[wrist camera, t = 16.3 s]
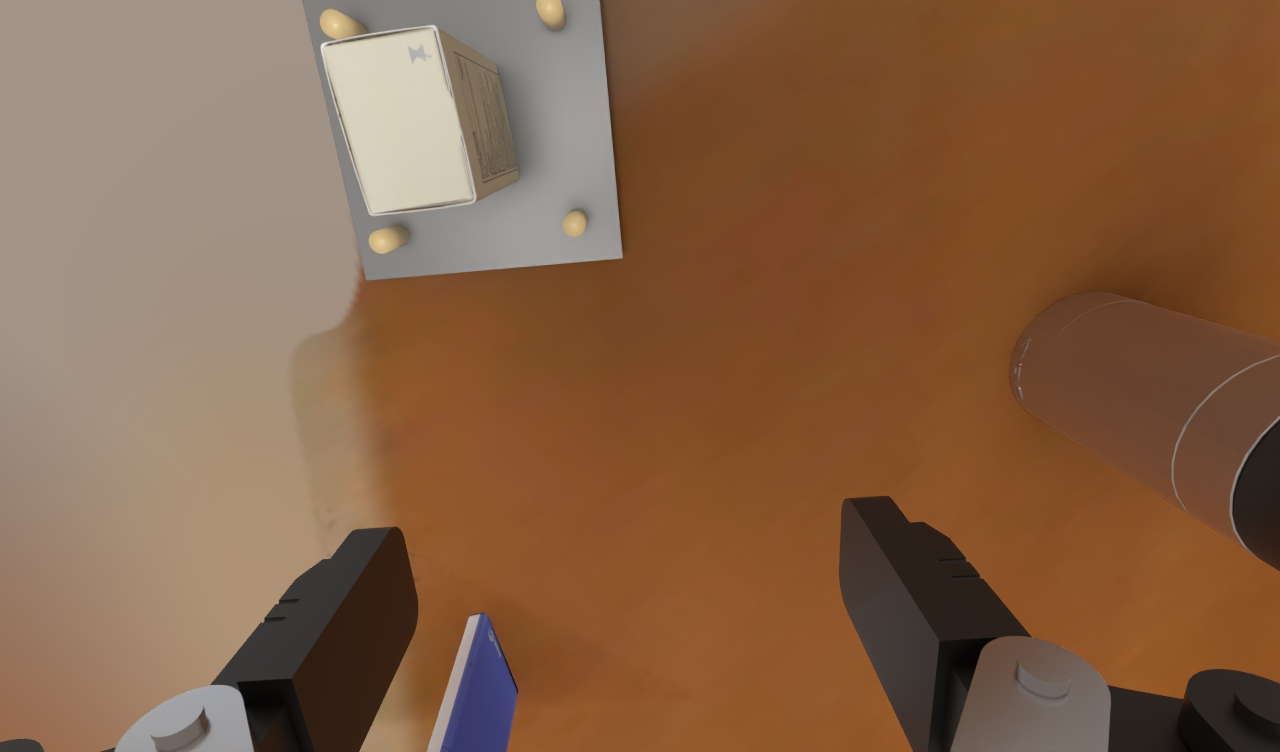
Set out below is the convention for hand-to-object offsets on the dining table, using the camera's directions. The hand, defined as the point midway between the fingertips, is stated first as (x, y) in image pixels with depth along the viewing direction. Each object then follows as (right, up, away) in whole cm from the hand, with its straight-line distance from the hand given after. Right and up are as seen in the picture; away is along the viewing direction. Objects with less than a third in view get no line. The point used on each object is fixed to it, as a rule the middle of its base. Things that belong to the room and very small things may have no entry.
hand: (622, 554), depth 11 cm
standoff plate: (-9, +17, +24) cm, 31 cm away
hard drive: (-11, -18, +37) cm, 42 cm away
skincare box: (-9, +17, +23) cm, 30 cm away
